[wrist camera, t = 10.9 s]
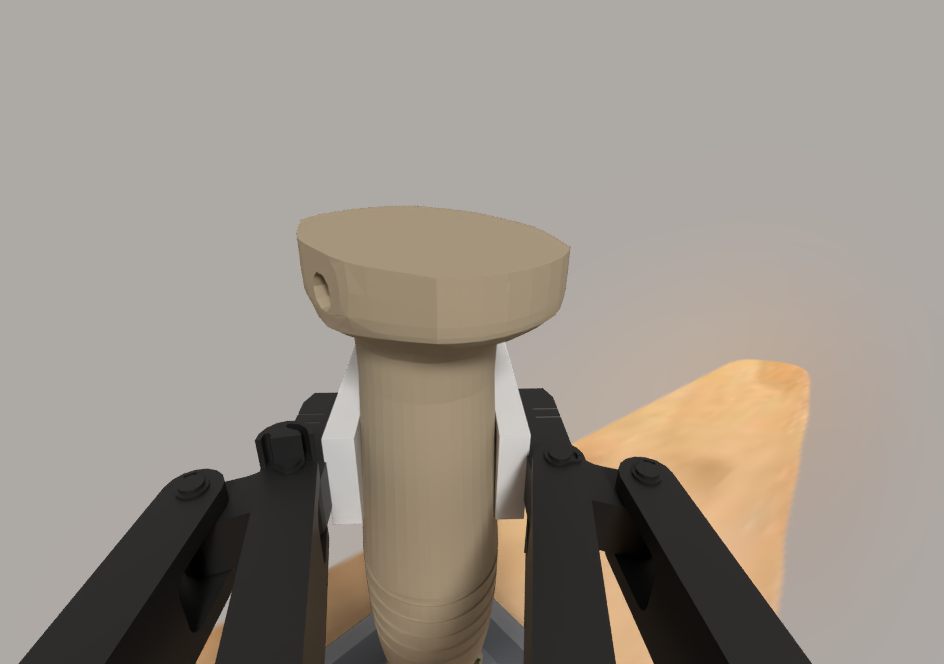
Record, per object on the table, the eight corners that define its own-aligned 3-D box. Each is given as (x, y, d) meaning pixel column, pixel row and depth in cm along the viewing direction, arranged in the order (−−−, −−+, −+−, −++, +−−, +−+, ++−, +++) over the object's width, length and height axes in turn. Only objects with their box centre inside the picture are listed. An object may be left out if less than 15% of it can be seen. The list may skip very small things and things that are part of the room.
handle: (431, 818, 13) (413, 298, 7) (328, 635, 17) (258, 220, 11) (550, 693, 16) (616, 246, 10) (435, 563, 20) (428, 200, 14)
